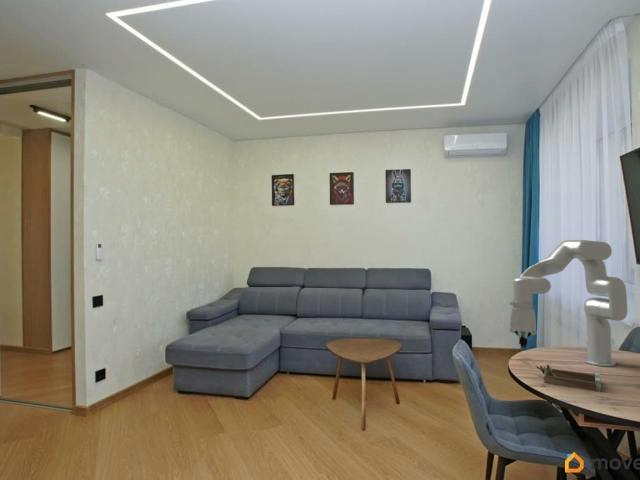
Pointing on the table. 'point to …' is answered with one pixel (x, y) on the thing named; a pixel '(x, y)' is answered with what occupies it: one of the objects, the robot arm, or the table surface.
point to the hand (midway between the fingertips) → (523, 346)
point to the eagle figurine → (547, 370)
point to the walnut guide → (574, 379)
